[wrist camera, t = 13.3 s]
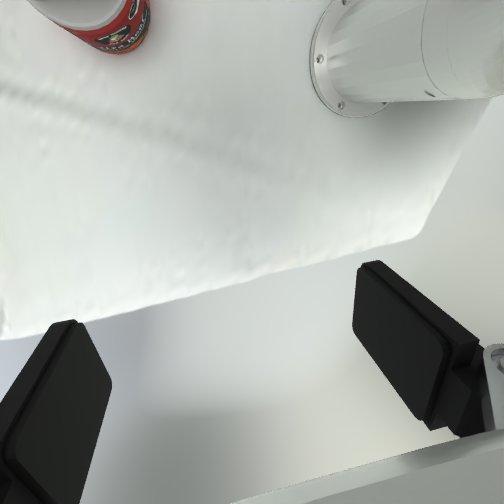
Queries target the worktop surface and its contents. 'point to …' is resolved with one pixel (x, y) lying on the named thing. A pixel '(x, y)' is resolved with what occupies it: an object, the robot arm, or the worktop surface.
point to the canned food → (100, 21)
